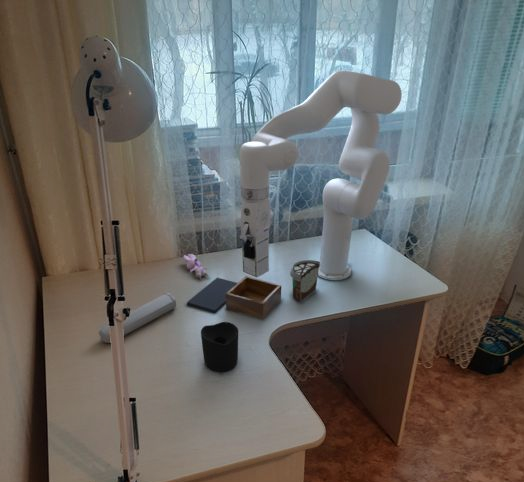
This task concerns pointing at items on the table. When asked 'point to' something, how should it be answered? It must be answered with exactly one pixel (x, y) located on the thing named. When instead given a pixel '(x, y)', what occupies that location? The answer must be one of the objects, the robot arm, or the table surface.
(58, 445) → the table surface
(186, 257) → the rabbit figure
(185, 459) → the table surface
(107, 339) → the tube
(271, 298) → the open box
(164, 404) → the table surface
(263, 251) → the syrup box
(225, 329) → the pen holder
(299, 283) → the food container
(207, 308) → the mat
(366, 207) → the robot arm
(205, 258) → the table surface
